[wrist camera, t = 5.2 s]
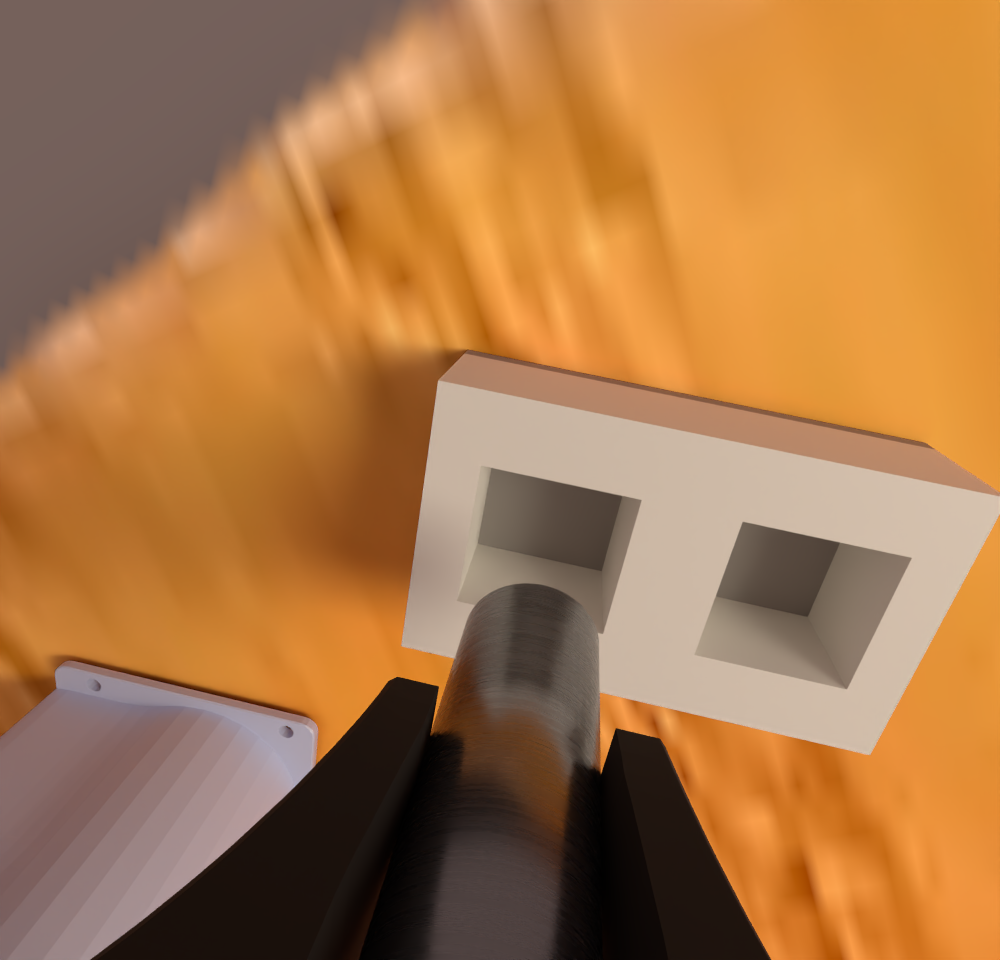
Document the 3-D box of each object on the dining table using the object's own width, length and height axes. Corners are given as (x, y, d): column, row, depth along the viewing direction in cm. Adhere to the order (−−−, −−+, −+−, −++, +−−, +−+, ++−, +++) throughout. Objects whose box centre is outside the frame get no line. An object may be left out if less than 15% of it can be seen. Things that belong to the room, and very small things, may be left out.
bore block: (822, 663, 19) (869, 755, 16) (432, 576, 19) (401, 646, 16) (925, 442, 16) (1008, 497, 13) (467, 350, 17) (438, 380, 14)
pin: (465, 690, 12) (279, 1364, 5) (462, 578, 12) (232, 1207, 4) (594, 702, 12) (595, 1437, 5) (603, 589, 11) (622, 1287, 4)
